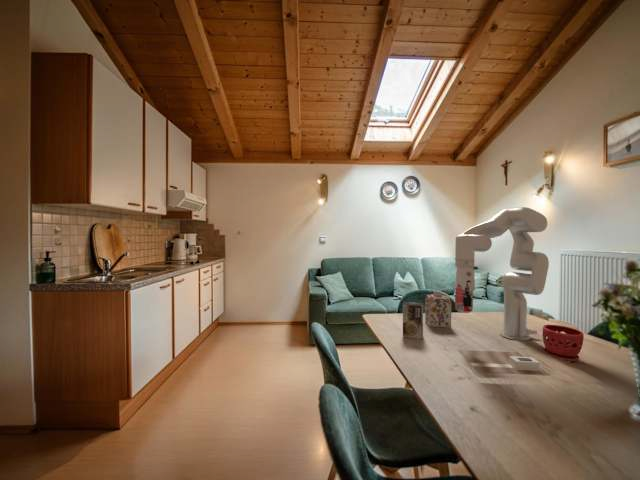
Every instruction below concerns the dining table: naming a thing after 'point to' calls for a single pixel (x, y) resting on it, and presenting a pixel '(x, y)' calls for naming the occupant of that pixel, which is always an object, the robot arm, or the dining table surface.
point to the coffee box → (413, 320)
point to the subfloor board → (495, 362)
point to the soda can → (461, 300)
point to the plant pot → (562, 342)
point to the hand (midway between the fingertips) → (463, 304)
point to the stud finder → (524, 363)
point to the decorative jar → (438, 310)
